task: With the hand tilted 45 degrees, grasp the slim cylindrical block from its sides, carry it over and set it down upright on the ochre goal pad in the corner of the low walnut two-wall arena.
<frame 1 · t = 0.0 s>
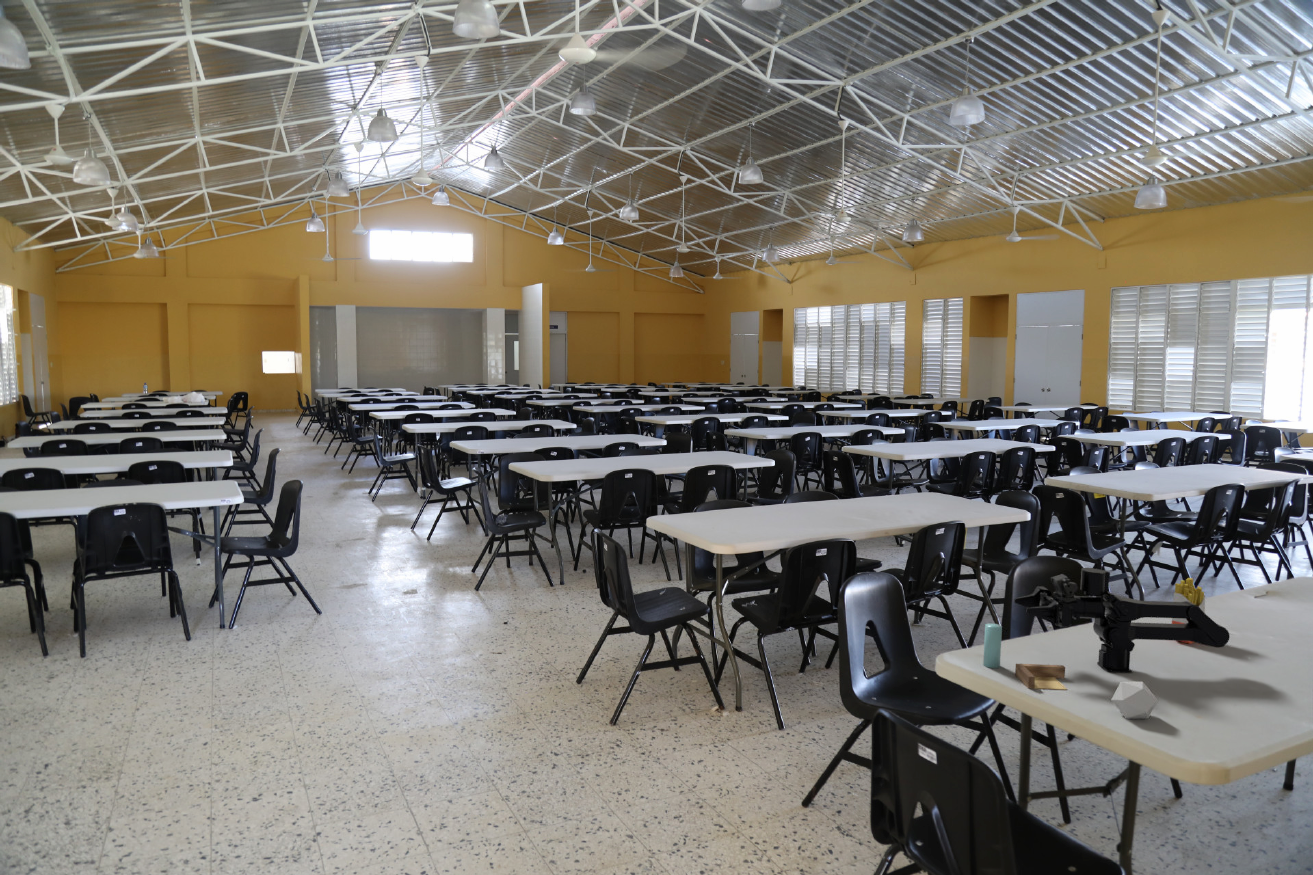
hand: (1020, 605, 230), 17 cm above the table, tool horizontal, fingers open, 9 cm apart
french fries container: (1187, 641, 254), on the table
cylindrical block: (991, 665, 231), on the table
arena: (1044, 683, 218), on the table
die: (1133, 716, 198), on the table
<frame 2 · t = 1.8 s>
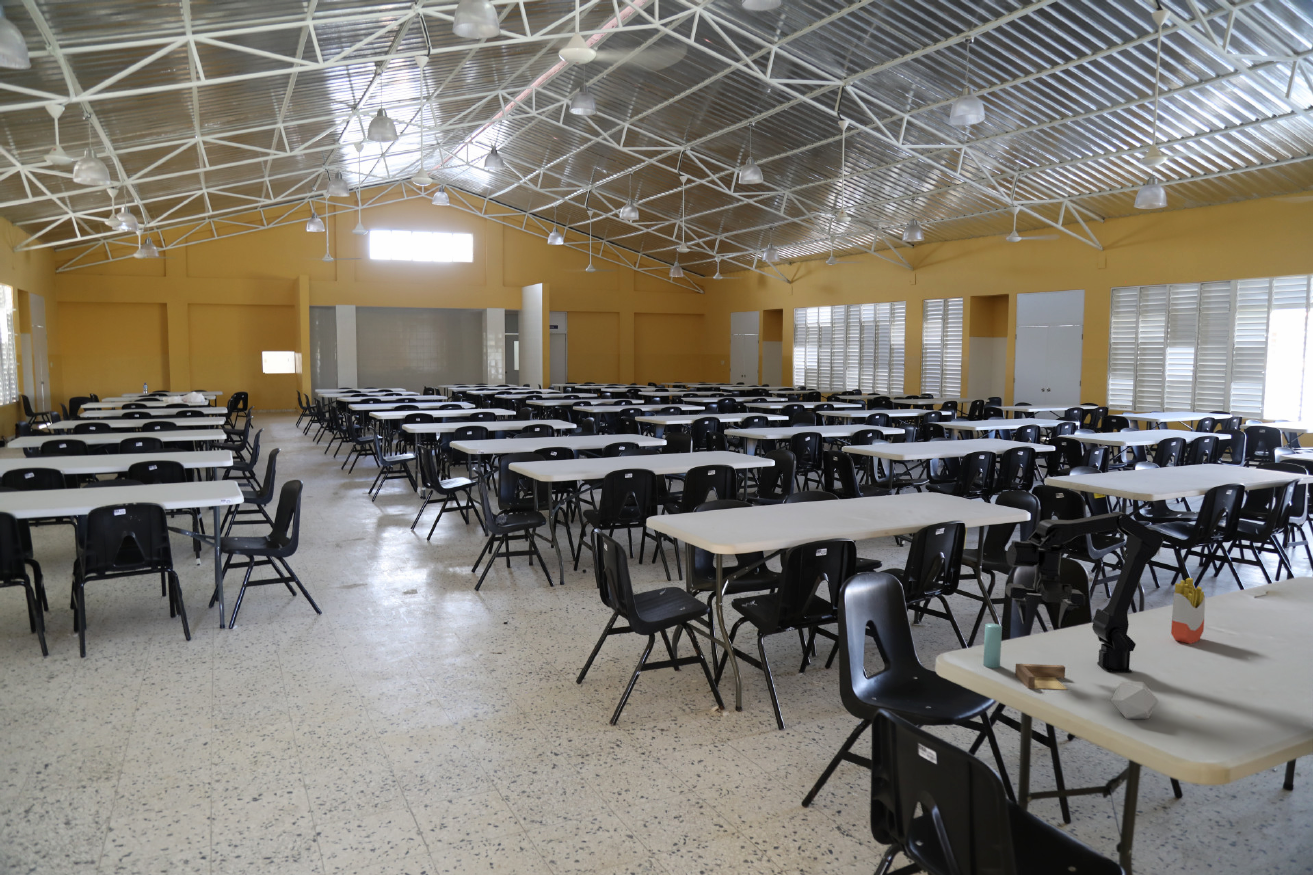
hand: (1041, 625, 228), 12 cm above the table, tool pointing down, fingers open, 9 cm apart
nothing on the table moved.
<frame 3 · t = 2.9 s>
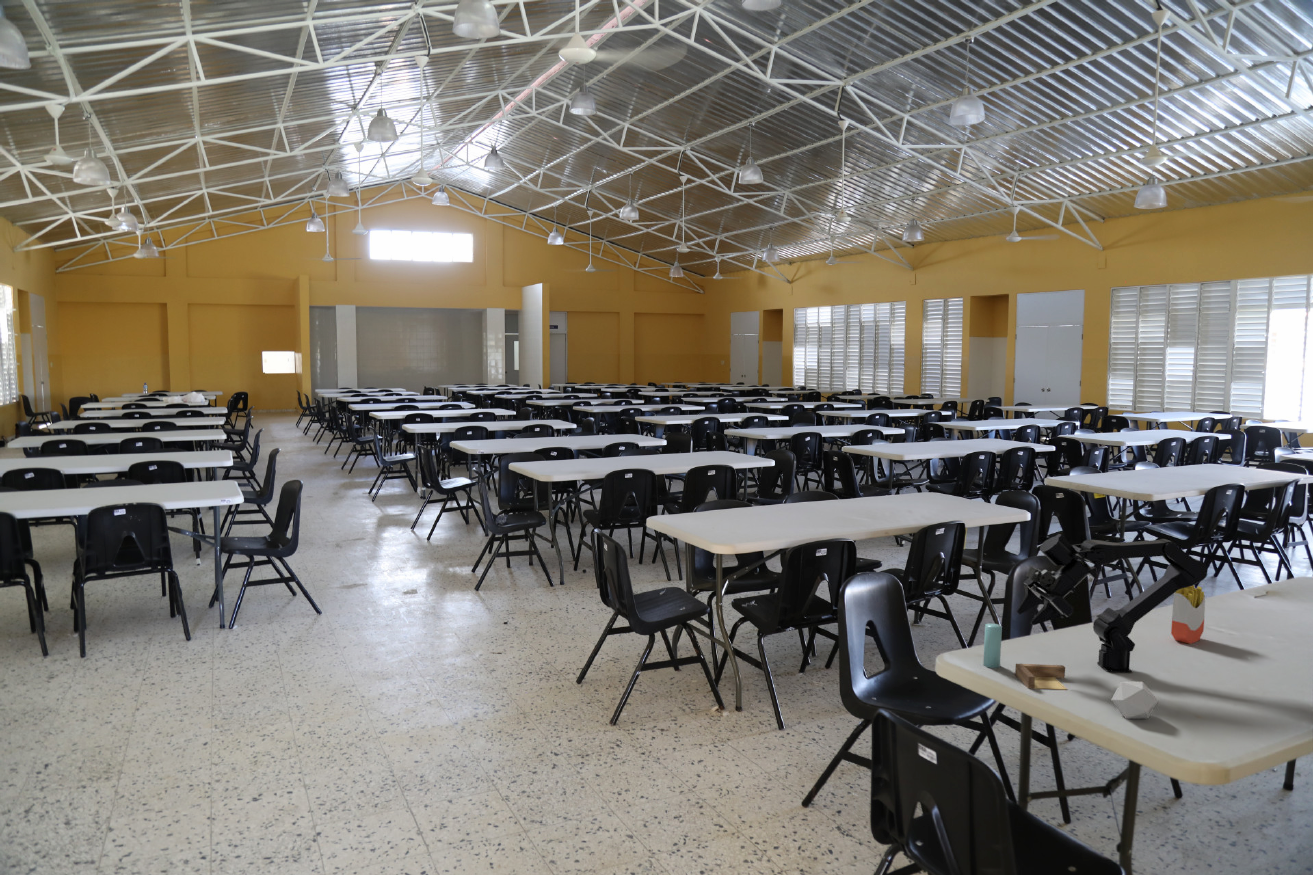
hand: (1024, 618, 229), 13 cm above the table, tool tilted 45°, fingers open, 9 cm apart
nothing on the table moved.
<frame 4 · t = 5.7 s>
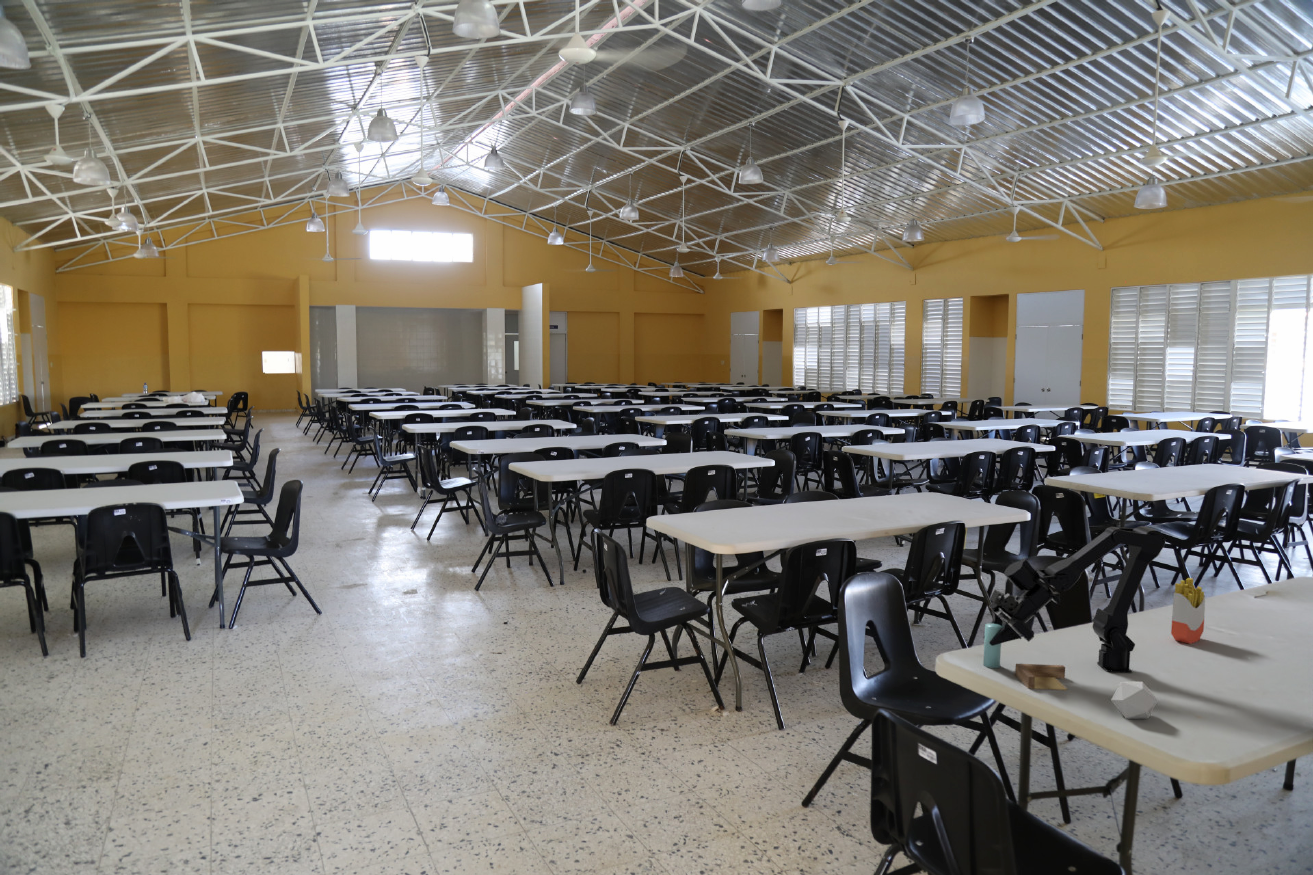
hand: (987, 641, 230), 7 cm above the table, tool tilted 45°, fingers closed on cylindrical block, 4 cm apart
cylindrical block: (991, 665, 231), on the table, touching gripper
everything else where it was.
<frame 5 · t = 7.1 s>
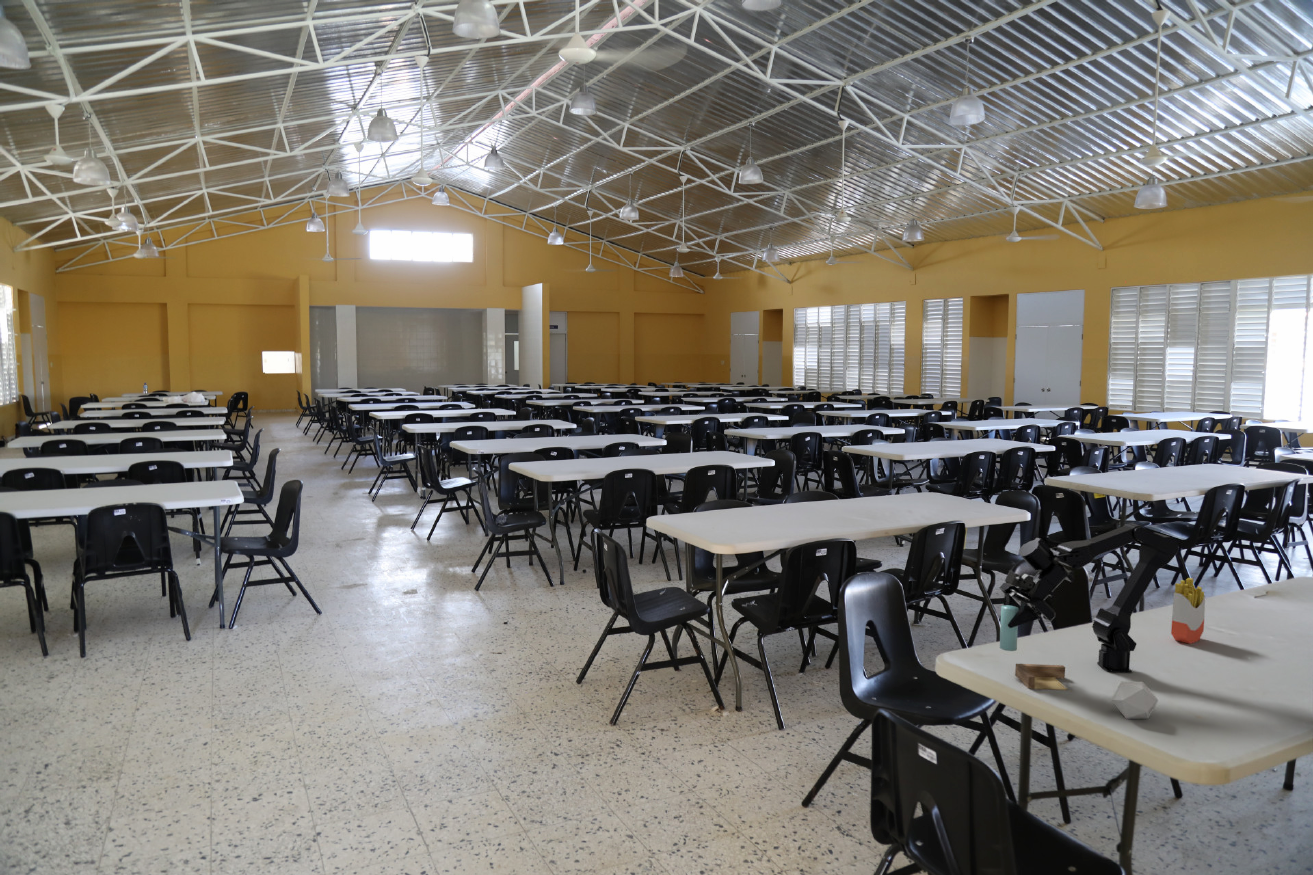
hand: (1004, 624, 225), 13 cm above the table, tool tilted 45°, fingers closed on cylindrical block, 4 cm apart
cylindrical block: (1008, 648, 226), point 6 cm above the table, touching gripper
everything else where it was.
when the fingers open (8 cm above the table, at t = 9.0 s): cylindrical block drops 1 cm, resting on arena.
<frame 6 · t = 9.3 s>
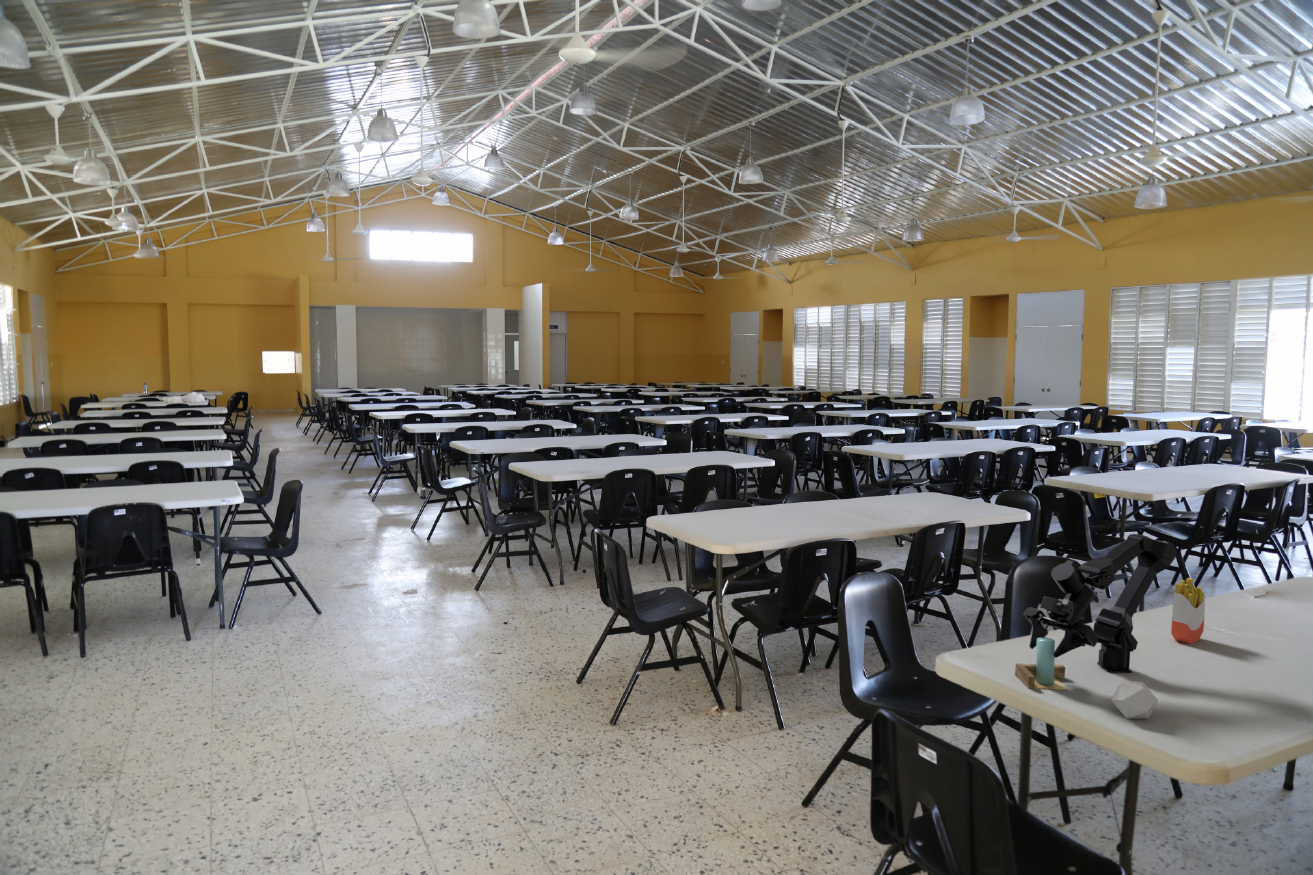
hand: (1042, 652, 217), 8 cm above the table, tool tilted 45°, fingers open, 7 cm apart
cylindrical block: (1045, 682, 218), resting on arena
everything else where it was.
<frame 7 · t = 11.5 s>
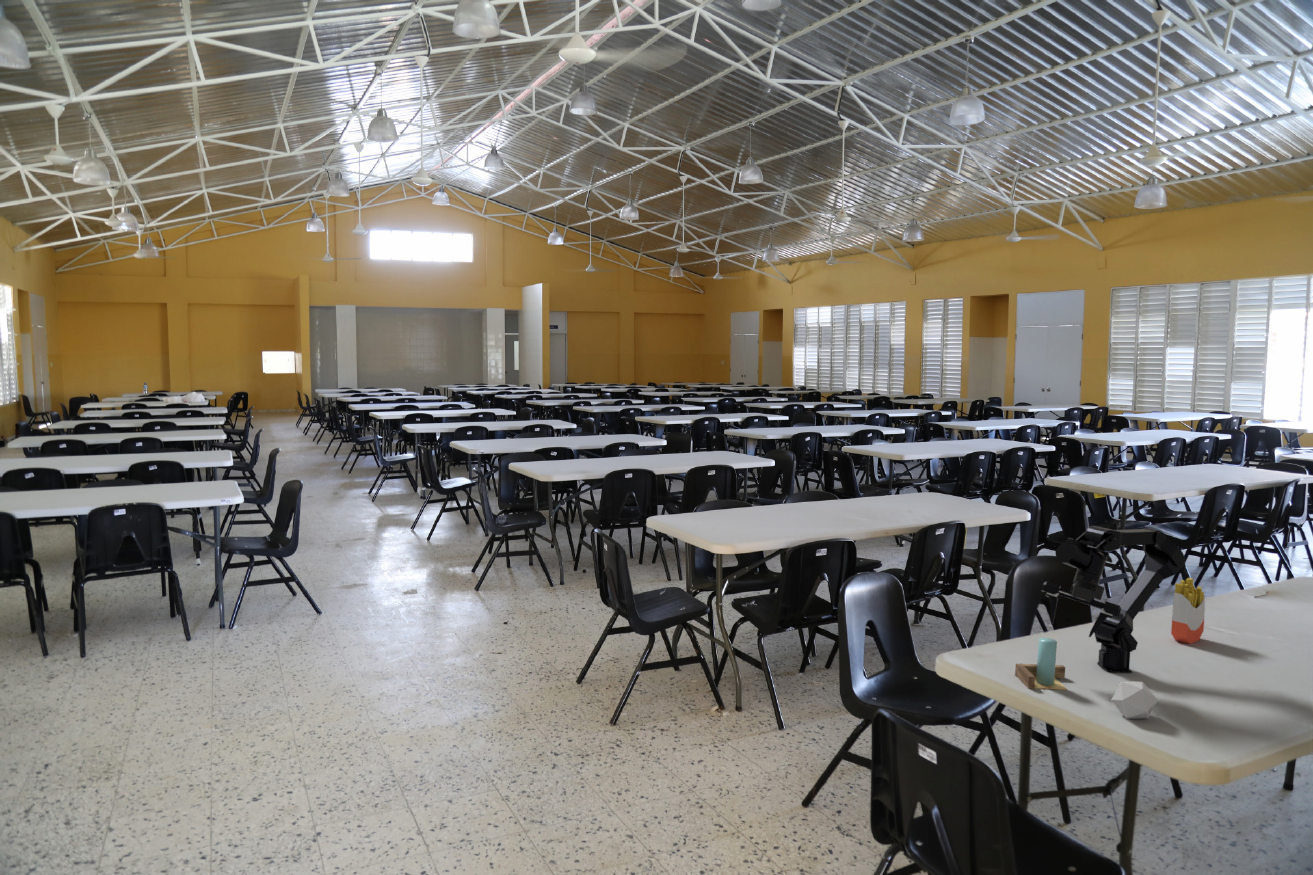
hand: (1070, 630, 222), 12 cm above the table, tool tilted 20°, fingers open, 9 cm apart
nothing on the table moved.
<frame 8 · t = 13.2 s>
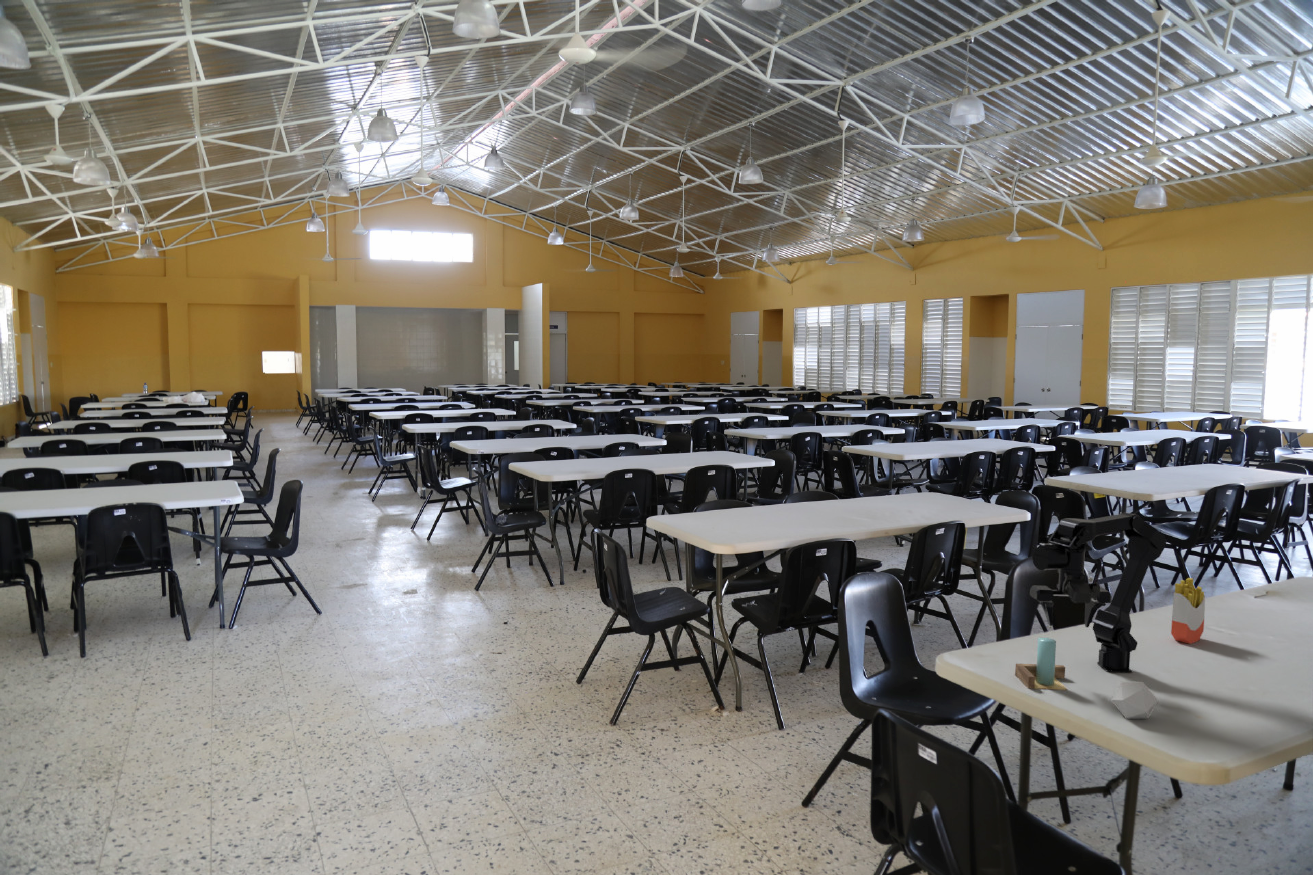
hand: (1068, 626, 223), 13 cm above the table, tool pointing down, fingers open, 9 cm apart
nothing on the table moved.
at the end: cylindrical block inside the target area on the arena (0.1 cm from its centre), point 0.2 cm above the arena's base; cylindrical block tilted 1°; the gripper is holding nothing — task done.
